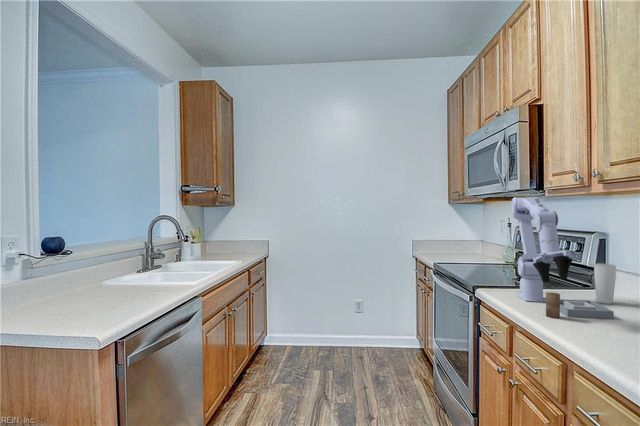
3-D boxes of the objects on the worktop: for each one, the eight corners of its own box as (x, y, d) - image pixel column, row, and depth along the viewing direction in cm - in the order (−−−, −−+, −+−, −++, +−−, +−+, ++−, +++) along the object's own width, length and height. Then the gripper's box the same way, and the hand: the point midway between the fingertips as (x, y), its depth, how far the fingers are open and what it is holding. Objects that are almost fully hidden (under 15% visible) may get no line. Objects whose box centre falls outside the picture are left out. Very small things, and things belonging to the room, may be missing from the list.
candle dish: (549, 305, 135) (549, 298, 135) (590, 307, 132) (590, 299, 132) (567, 316, 121) (567, 308, 121) (613, 318, 119) (613, 310, 119)
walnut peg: (543, 314, 124) (544, 292, 124) (556, 315, 123) (556, 292, 123) (549, 318, 120) (549, 294, 120) (562, 318, 119) (562, 295, 119)
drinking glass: (589, 301, 140) (590, 264, 140) (600, 299, 143) (601, 263, 143) (608, 305, 134) (609, 266, 134) (619, 303, 137) (620, 265, 136)
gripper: (524, 246, 132) (528, 282, 127) (555, 235, 119) (561, 275, 114) (541, 248, 133) (546, 284, 128) (573, 238, 119) (580, 278, 115)
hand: (554, 280), depth 121 cm, fingers open, 7 cm apart
